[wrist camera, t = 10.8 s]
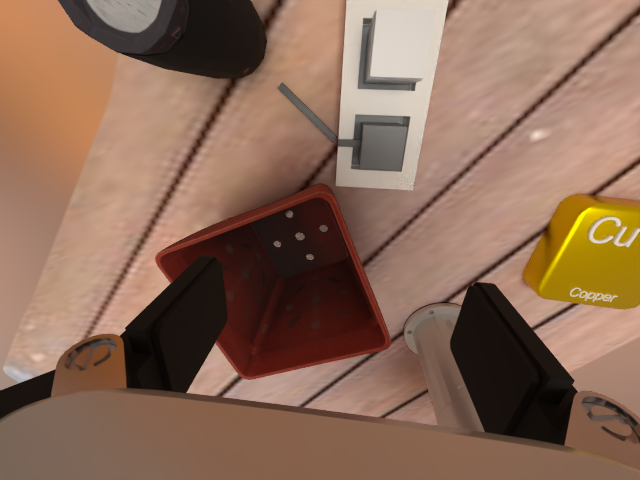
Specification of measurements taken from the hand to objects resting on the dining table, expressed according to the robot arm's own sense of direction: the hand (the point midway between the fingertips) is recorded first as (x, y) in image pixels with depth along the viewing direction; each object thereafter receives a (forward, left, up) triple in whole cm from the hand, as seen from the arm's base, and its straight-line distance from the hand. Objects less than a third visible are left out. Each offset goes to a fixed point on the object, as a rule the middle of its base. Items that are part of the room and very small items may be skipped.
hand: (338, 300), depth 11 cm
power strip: (0, -7, -30) cm, 31 cm away
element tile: (-37, +11, -31) cm, 49 cm away
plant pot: (+6, +12, -31) cm, 33 cm away
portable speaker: (+14, -13, -31) cm, 36 cm away
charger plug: (-4, -11, -30) cm, 32 cm away
